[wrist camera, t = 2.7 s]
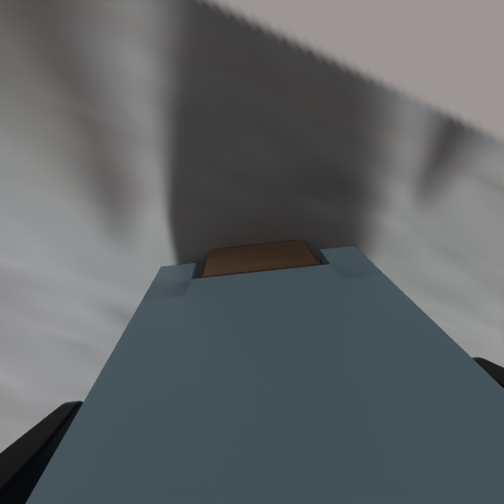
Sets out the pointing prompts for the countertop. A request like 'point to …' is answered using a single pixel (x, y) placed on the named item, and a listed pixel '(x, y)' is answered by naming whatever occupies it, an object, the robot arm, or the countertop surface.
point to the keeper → (283, 398)
